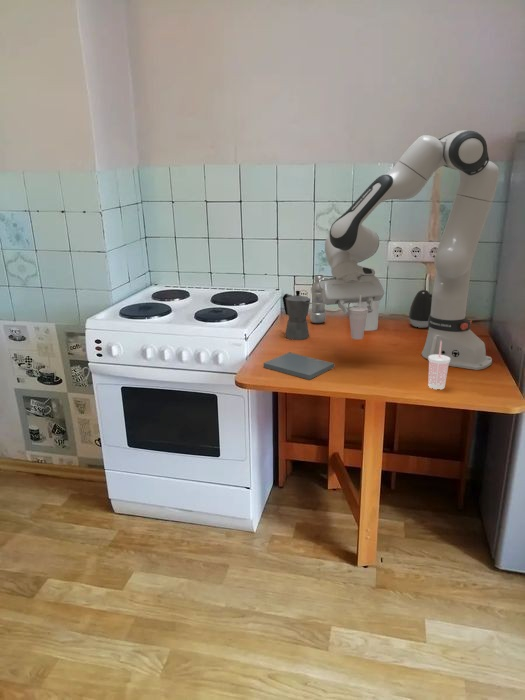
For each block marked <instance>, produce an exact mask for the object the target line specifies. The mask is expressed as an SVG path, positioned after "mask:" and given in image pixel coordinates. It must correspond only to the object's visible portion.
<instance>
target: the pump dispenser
mask: <svg viewBox="0 0 525 700" xmlns="http://www.w3.org/2000/svg"><path fill="white" fill-rule="evenodd" d="M432 294H433V293H430V292H429V290H426V289H421V290H419V291H418V292H417V293H416V295H414V298H413V300H412V303H410V308H409V312H408V319H409V323H410V324H411V325H412V326H413V327H415V328H417V327H418V328H419V329H426V328H427V329H428V319H429V315H430V314H431V304H432Z"/></svg>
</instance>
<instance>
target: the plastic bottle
mask: <svg viewBox="0 0 525 700" xmlns="http://www.w3.org/2000/svg"><path fill="white" fill-rule="evenodd" d="M323 278H325V277H324V275H323V274H315V275H314V283H313V284H312V286H311V287H310V288H311V289H310V291H311V312H310V317H309V318H310V321H311V323H314V324H323V323H325V321H326V319H327V315H326V309H325V308H326V307H325V305H326V304H325V303H324V302H323V299H322V290H321V289H320V287H319V281H320V280H322V279H323Z"/></svg>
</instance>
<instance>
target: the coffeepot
mask: <svg viewBox="0 0 525 700" xmlns="http://www.w3.org/2000/svg"><path fill="white" fill-rule="evenodd" d="M300 293H301V291H300V290H296V291H295V295H292V294H289V293H285V294H284V295H283V296H282V303H283V308H284V312H285V315H287V316H288V319H287V322H286V328H285V334H284V335H285V337H286V339H288V340H292V339H293V341H294V340H295V341H302V340H303V341H304V340H306V338H307V339H308V338H309V337H310V331H309V326H308V320H307V317H308V315H309V310H310V309H309V308H310V304H311V298H309V296H305V295H301V294H300Z"/></svg>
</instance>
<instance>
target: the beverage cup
mask: <svg viewBox="0 0 525 700" xmlns="http://www.w3.org/2000/svg"><path fill="white" fill-rule="evenodd" d="M441 346H442V341H440V348H439V355H438V354H434V355H430V356H428V359H427V360H428V384H427V386H429V387H428V388H430V389H432V388H433V389H432V390H437V389H440V390H443V389H445V388H446V387H445V386H446V382H447V376H448V370H449V367H450V366H449V362H450V357H448V356H445V355H441Z"/></svg>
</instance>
